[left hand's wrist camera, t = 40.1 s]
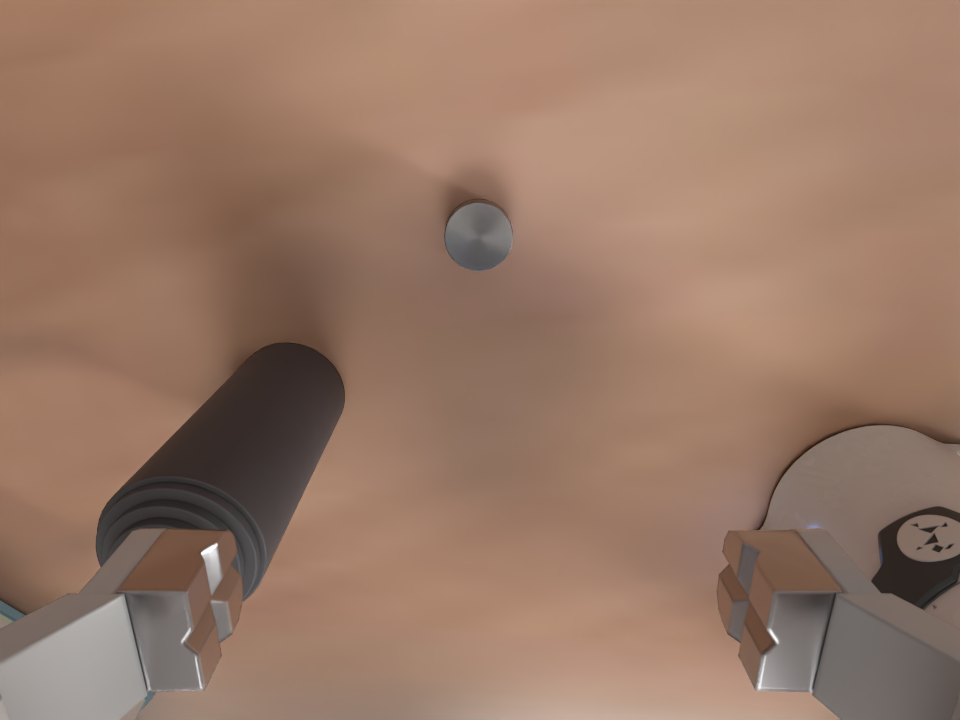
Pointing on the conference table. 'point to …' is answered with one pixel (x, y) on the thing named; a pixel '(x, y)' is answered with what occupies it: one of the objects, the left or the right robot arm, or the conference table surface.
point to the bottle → (237, 460)
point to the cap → (478, 235)
